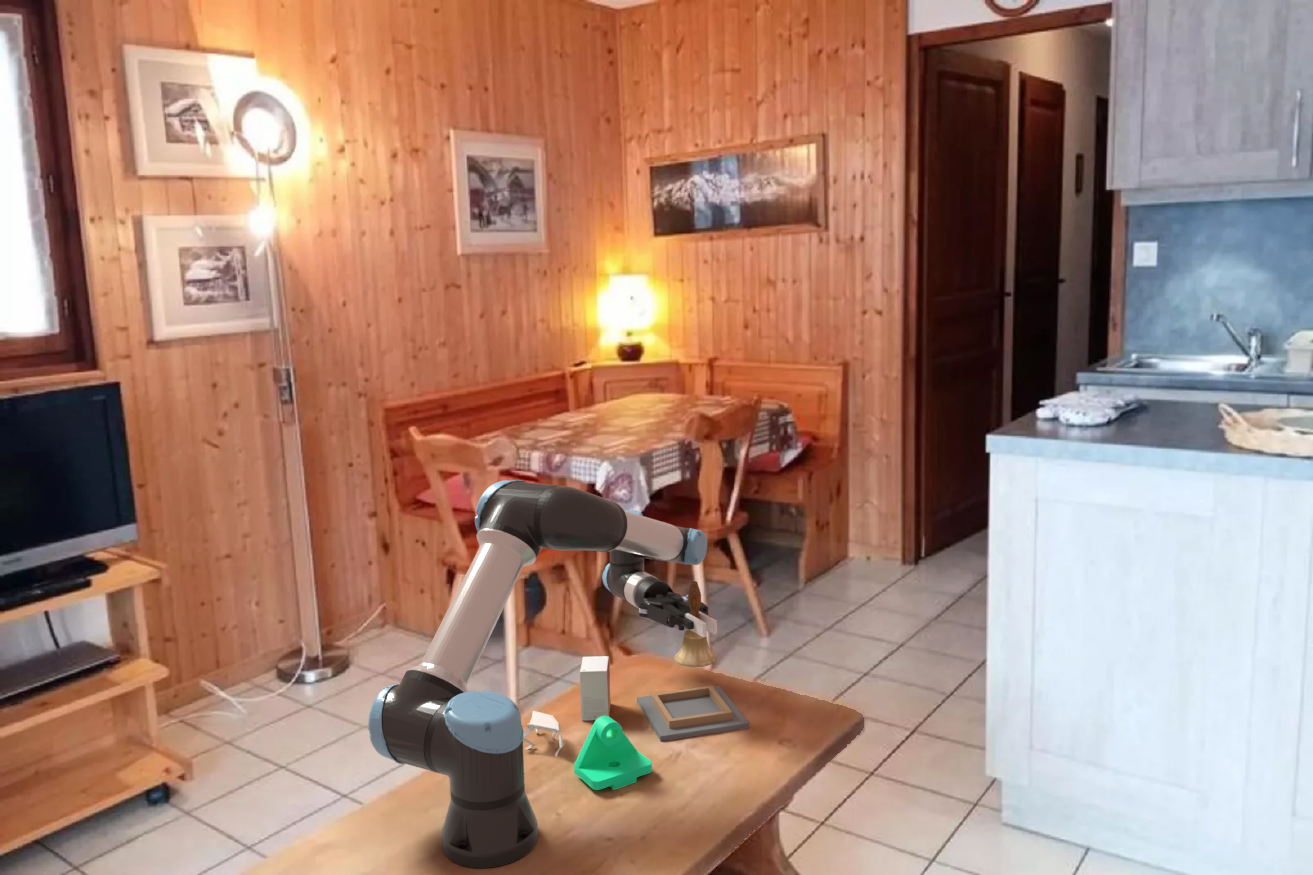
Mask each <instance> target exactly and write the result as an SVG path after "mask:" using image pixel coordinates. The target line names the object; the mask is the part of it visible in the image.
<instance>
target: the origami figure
mask: <svg viewBox="0 0 1313 875" xmlns="http://www.w3.org/2000/svg"><path fill="white" fill-rule="evenodd" d="M534 729H535V734H537V735H539V734H540V733H539V730H542V731H546V732H551V733H552V735H551V737H552V740H556V738H555V735H556V733H557V734H558V742H559V744H558V745H559V747H558V748H557V750H556V751H555V754H554V756H555V757H557V756H559V752H560V750H561V749H562V748H564V742H563V741H564V740H563V736H562V732H561V725H560V724H559V722H558V720H557V719H556V718H555V717H554V715H553V714H547V713H545V712H539V711H536V710H532V714H531V718H530V721H529V723H526V729H525V730H523V743H524V742H525V743H526V744H529V745H528V746H526V747H525V748H524V750H526V749H527V751H528V750H529V749H531V748H532V747H534V746H536V744H535V743H533V742H532V741H531V740H529V739H527V738H526V737H528V735H529V734H530V733H532V731H534Z"/></svg>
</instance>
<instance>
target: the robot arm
mask: <svg viewBox="0 0 1313 875" xmlns="http://www.w3.org/2000/svg"><path fill="white" fill-rule="evenodd" d="M475 513H476V516H474V525H475V529H476V531H477V533H476V539H477V543H478V546H479V548H478V549H477V552H476V553H475V556H473V557H474V558H473V560H472V562H471V563H470V565H469V567H468V570H467V571H466V573H465V576H464V577H463V580H462V581H461V584H460V585H459V587H458V589H457V591H456V593H455V595H454V597H453V598H452V600H451V603H450V605H449V606H448V609H447V611H446V612H445V615H444V616H443V618H442V621H441V623H440V625H439V626H438V629H437V630H436V632H435V634H434V637H433V639H432V640H431V642H430V644H429V646H428V648H427V650H426V652H425V654H424V656H423V658H422V660H421V662H420V663H419V664H418V665H416V666H413V667H410V668H407V670H406V671H405V673H404V675H403V677H402V679H401V681H400V682H399V683H395V684H389V685H387V686H386V688H383V689H381V690H380V691H379V693H378V694H377V695H376V696H375V698H374V700H373V702H372V704H371V708H370V710H369V714H368V721H367V722H368V723H367V724H368V727H367V728H368V731H369V740H370V742H371V745H372V747H373V748H374V750H375V751H376V752H377V754H379V755H381V757H384V758H386V759H389V760H392V761H394V762H395V763H397V764H401V765H409V766H412V767H416V768H419V769H423V770H426V771H429V772H433V773H437V774H439V775H440V774H441V775H444V776H447V777H448V779H449V789H450V790H449V792H450V801H449V804H448V805H449V806H448V808H447V813H446V815H445V819H444V823H443V827H442V830H441V846H442V851H443V853H444V855H445V857H447V858H448V860H450V861H451V862H453V863H455V864H458V865H461V866H463V867H468V868H474V869H475V868H476V869H477V868H479V869H480V868H482V869H485V868H494V867H500V866H504V865H507V864H510V863H513V862H516V861H518V860H520V859H521V858H523V857H525V856H526V855H527V854H529V853H530V852H531V851H532V850H533V849H534V847H535V846H536V844H538V843H537V842H538V840H539V827H538V820H537V817H536V814H535V813H534V810H533V808H532V807H533V806H532V805H531V803H530V800H529V797H528V795H527V793H526V788H525V787H526V786H525V785H526V784H525V768H524V767H525V765H524V764H525V763H524V762H525V761H524V741H523V732H524V728H523V725H522V716H521V712H520V708H519V707H518V705H517V704H516V703H515V702H514V701H513V700H512V699H511V698H509V697H508V696H506V695H505V694H502V693H498V692H496V691H495V692H494V691H489V690H481V691H480V692H479V691H477V690H471V691H469V690H468V689H467V686H468V684H469V682H470V679H471V678H472V675H473V674H474V673H473V672H474V671H475V669H476V667H477V665H478V662H479V661H480V658H481V657H482V654H483V652H484V650H485V648H486V646H487V643H488V641H489V639H490V637H491V635H492V633H493V631H494V629H495V627H496V625H497V623H498V621H499V620H500V616H501V614H502V612H503V610H504V608H505V606H506V604H507V602H508V600H509V598H510V595H511V594H512V592H513V589H514V587H515V585H516V583H517V581H518V579H519V577H520V575H521V573H522V570H523V568H524V567H528V566H532V565H533V564H534V563H535V562H536V561H537V558H538V556H539V555H540V552H541V551H542V549H548V550H554V551H555V550H556V551H593V552H599V553H608V552H609V563H608V564H607V565H606V566H605V567H604V570H603V573H602V576H601V577H602V583H603V585H604V587H605V589H607V590H608V591H609V592H610V593H611V594H612V595H613V596H615V597H617V598H620V599H622V600H624V601H626V602H627V603H628V604H630V605H632V606H634V607H635V608H637V609H638V614H639V615H638V616H639V617H641V618H645V619H650V620H652V621H654V622H656V623H658V624H660V625H663V626H665V627H667V628H672V629H673V628H675V626H677V627H678V631H684V630H685V629H686V630H692V631H693V632H695V633H697V634H698V635H700V636H702V637H707V634H708V633H710V634H712V635H713V636H714V635H718V620H717V619H715V618H713V617H712V616H710V615H709V606H708V605H706V604H705V603H704V602H702V601H701V605H700V609H699V619H698V618H696V617H694V616H693V615H691V611H690V607H689V603H688V594H686V596H682V595H681V594H680V593H676V592H674V591H673V589H672V588H671V586H670V585H669V584H668V583H667V582H664V581H663V580H661V579H659V578H658V577H656V576H654V575H652V574H650V573H648V572H647V571H645V559H649V560H654V561H662V562H668V563H669V562H670V563H675V564H681V565H685V566H688V565H691V566H698V565H700V564H701V563H702V562H703V561H704V559H705V557H706V554H707V549H708V539H707V536H706V533H705V532H704V531H703V530H700V529H694V528H692V527H690V528H687V527H683V526H678V525H673V524H671V523H667V522H665V521H660V520H658V519H654V518H651V517H647V516H644V515H643V513H642V512H641V511H637V510H633V509H624V508H623V507H622V506H621V505H620V504H619V503H617V502H615V501H612V500H609V499H606V498H605V497H601V496H599V495H596V494H593V493H591V492H588V491H586V490H582V489H580V488H577V487H572V486H568V485H557V484H547V483H537V482H528V481H525V480H521V479H513V480H509V479H508V480H500V481H496V482H495V483H493V484H491V485H489V486H488V487H487V488H486V489H485V490H484V492H483V493H482V494H481V495H480V497H479V499H478V501H477V504H476V507H475ZM707 632H708V633H707ZM707 638H708V637H707Z"/></svg>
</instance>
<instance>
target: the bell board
mask: <svg viewBox="0 0 1313 875" xmlns="http://www.w3.org/2000/svg"><path fill="white" fill-rule="evenodd" d="M636 703H637V705H638V706H639V708H640V709H641V711H642V713H643V714H644V716H645V718H646V720H647V721H648V723H649V725H650V726H651V727H652V729H653V731H654V733H655V734H656V736H657V738H658V740H659V741H660V742H663V741H664V742H665V741H671V740H677V739H683V738H684V739H685V738H691V737H698V736H704V735H710V734H715V733H716V734H717V733H723V732H729V731H731V732H732V731H736V730H738V731H739V730H744V729H749V728H750V722H749V721H748V720H747V718H746V717H745V716H744V715H743V713H742V712H741V711H740V709H738V707H737V706H736V705H735V704H734V702H733V701H732V700H731V698H730V696H728V695H727V693H726V692H725V691H724V690H723V689H722V688H721V686H719V685H717V686H713V685H708V686H707V685H706V686H699V687H693V688H685V689H679V690H670V691H663V692H656V693H651V695H644V696H637V697H636Z"/></svg>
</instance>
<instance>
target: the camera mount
mask: <svg viewBox="0 0 1313 875" xmlns="http://www.w3.org/2000/svg"><path fill="white" fill-rule="evenodd" d="M573 768H574V769H573V771H574V772H573V773H574V774H575V775H577V777H579V779H581V780H582V781H583V782H584V783H585V784H587V785H588V786H589V787H590V788H591V789H592V790H595V791H597V790H598V791H600V790H603V789H605V788H608V787H609V788H611V789H612V790H613V791H615V790H617V789H621V788H623V787H627V786H630V785H633V784H634V783H637V781H638V779H637V778H639V777H642V776H645V775H647V774H650V773H652V771H653V761H651V760H650V759H649V758H648V757H646V756H645V755H644V754H642V752H640V751H638V750H637V748H635V745H633V743H632V742H631V740H630V739H629V738H628V736H627V735H626V734H625V733H624V731H623V728H622V726H621V724H620V723H619V722H617V721H616V720H614V718H612V717H610V715H609V716H601V717H599V718H598V719H597V720H594V723H593V724H592V726H591V728H590V730H589V732H588V735H587V736H586V739H585V740H584V743H583V745H582V747H581V749H580V751H579V754H578V756H577V758H576V760H575V762H574V764H573Z"/></svg>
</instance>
